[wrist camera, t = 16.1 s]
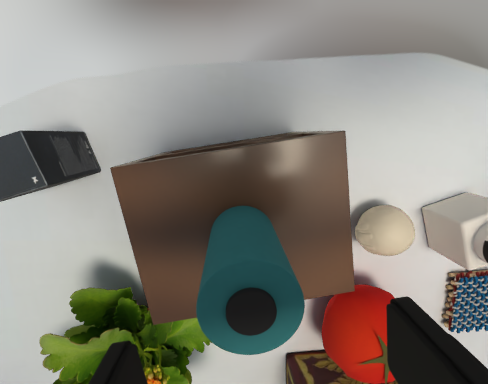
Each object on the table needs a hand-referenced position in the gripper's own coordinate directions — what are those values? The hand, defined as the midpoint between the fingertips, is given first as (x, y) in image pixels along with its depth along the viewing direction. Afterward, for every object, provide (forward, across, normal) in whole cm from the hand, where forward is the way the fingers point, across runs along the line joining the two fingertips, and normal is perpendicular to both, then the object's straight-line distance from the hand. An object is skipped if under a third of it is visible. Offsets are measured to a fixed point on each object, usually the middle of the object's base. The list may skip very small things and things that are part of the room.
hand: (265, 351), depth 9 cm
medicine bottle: (+28, -30, +10) cm, 43 cm away
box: (+28, +23, -8) cm, 37 cm away
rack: (+28, +1, 0) cm, 28 cm away
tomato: (+28, -14, +22) cm, 39 cm away
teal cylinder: (+12, 0, 0) cm, 12 cm away
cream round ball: (+28, -18, +8) cm, 35 cm away
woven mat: (+28, -35, +24) cm, 51 cm away
